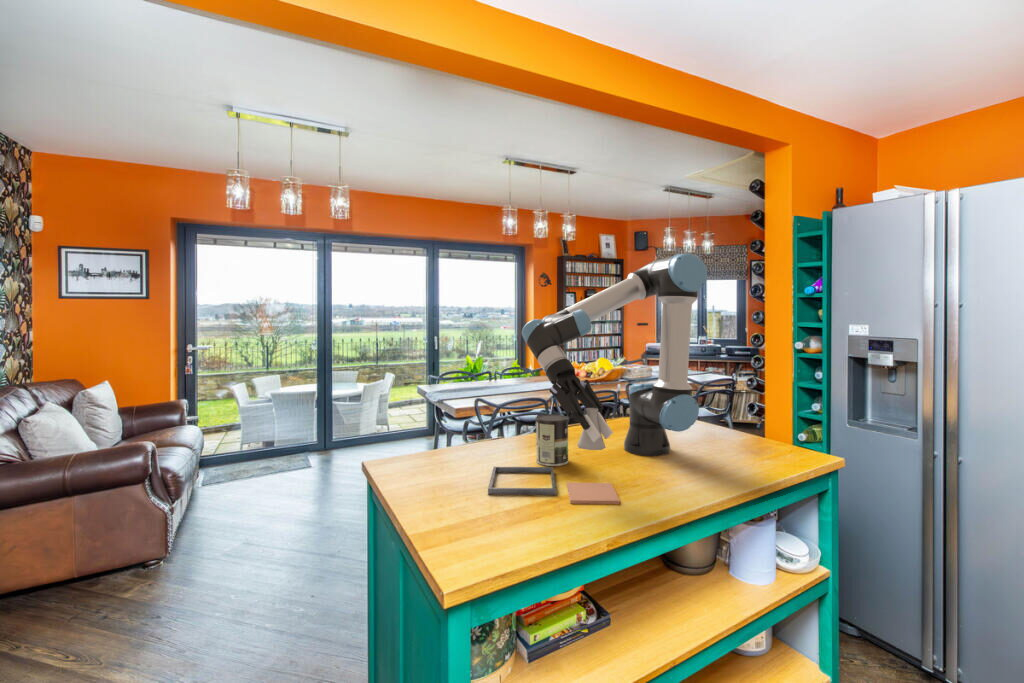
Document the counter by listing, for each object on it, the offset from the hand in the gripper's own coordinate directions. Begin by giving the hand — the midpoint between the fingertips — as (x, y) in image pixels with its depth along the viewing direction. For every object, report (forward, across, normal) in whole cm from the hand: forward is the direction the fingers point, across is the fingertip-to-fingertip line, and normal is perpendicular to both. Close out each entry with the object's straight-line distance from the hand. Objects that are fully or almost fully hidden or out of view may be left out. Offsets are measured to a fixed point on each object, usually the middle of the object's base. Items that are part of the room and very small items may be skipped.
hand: (603, 437), depth 113 cm
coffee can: (-10, -11, -32) cm, 36 cm away
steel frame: (-4, +8, -26) cm, 28 cm away
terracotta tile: (+8, 0, -14) cm, 16 cm away
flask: (0, 0, -5) cm, 5 cm away
